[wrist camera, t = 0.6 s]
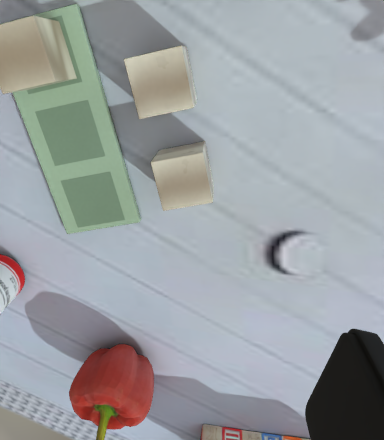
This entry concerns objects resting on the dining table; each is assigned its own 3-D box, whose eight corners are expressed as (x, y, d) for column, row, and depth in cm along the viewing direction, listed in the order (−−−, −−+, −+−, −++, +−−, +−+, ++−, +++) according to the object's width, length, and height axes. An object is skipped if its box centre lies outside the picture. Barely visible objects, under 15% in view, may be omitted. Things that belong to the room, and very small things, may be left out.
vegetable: (154, 394, 53) (140, 463, 44) (85, 382, 53) (57, 449, 44) (163, 339, 49) (150, 403, 40) (88, 325, 49) (58, 387, 40)
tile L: (136, 58, 35) (123, 59, 30) (186, 46, 34) (181, 45, 29) (149, 111, 37) (138, 119, 32) (197, 101, 36) (193, 107, 31)
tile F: (158, 150, 38) (150, 162, 34) (205, 140, 37) (202, 152, 33) (169, 193, 40) (162, 211, 35) (213, 185, 39) (212, 202, 35)
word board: (-9, 28, 34) (-14, 27, 34) (79, 4, 33) (75, 3, 32) (69, 231, 43) (66, 234, 42) (141, 219, 42) (139, 222, 41)
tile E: (10, 34, 34) (-23, 30, 29) (59, 21, 33) (33, 15, 28) (30, 89, 36) (2, 94, 31) (77, 78, 35) (55, 81, 30)
